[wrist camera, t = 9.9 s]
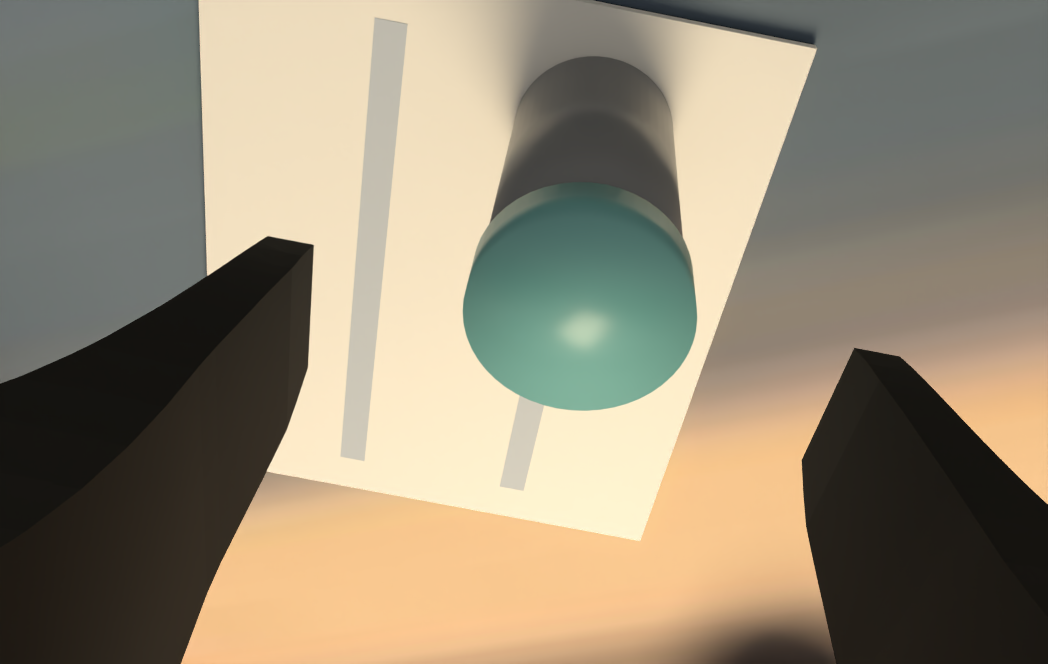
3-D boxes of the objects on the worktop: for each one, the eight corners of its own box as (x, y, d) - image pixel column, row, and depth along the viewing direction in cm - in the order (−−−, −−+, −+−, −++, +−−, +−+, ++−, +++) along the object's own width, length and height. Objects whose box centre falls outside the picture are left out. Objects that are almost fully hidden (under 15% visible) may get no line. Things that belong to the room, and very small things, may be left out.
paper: (640, 534, 25) (640, 541, 24) (215, 456, 24) (212, 461, 24) (815, 45, 17) (816, 48, 17) (200, -79, 17) (195, -77, 17)
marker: (654, 222, 19) (663, 428, 14) (497, 192, 19) (449, 388, 14) (698, 69, 17) (726, 244, 12) (524, 35, 17) (479, 196, 12)
